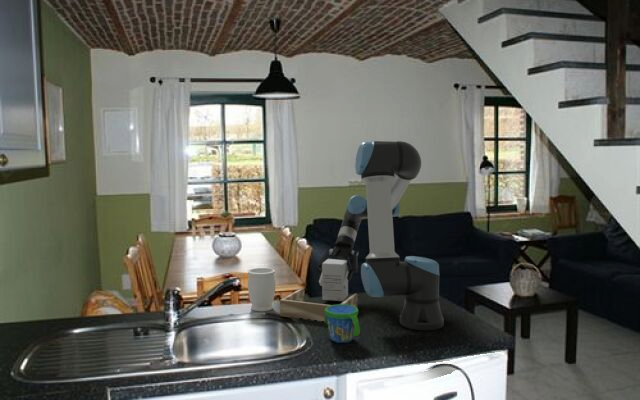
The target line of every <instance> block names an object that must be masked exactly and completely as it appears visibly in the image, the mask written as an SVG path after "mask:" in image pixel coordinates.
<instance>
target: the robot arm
mask: <svg viewBox="0 0 640 400" xmlns="http://www.w3.org/2000/svg"><path fill="white" fill-rule="evenodd" d="M354 166H355V167H354V168H355V173H356V175H359V176H360V178H361V179H360V180H361V182H362V183H364V184H365V190H366V191H365V192H366V193H365V194H366V198H365V197H364V196H361V195H360V194H356V195H355V194H354V195H353V196H351V197H350V198H349V200H348V203H347V205H346V209H345V212H344V215H343V220H342V223H341V226H340V229H339V231H338V234H337V238H336V241H335V245H334V247H333V248H330V247H327V248H326V250H325V253H324V255H323V256H322V257H321V259H320V261H319V262H318V264H317V268H318V270H319V274H318V276H319V280H318V283H319V285H320V286H321V287H322V263H323V262H325V261H326V260H327V259H337V260H347V265H348V271H347V272H346V275H345V279H344V283H343V286H344V288H347V284H348V285H349V281H352V277H353V274H357V273H358V272H359V264H358V258H359V255H360V253H359V251H358V249H354V245H355V241H356V238H357V235H358V230H359V227H360V224H361V222H362V220H363V218H367V227H368V243H369V245H368V246H369V253H368V254H367V256H366V257H365V262H364V263H362V264H361V266H360V276H361V281H362V285H363V289H364V291H365V293H366V294H367V295H368V296H369V297H372V298H386V297H387V298H388V297H402V296H404V302H403V306H402V309H401V312H400V315H399V324H400V325H401V326H402V327H404V328H407V329H410V330H416V331H435V330H439V329H441V328H443V327H444V326H445V325H444V323H445V322H444V320H445V319H444V316H443V314H442V309H441V305H440V302H439V301H440V275H441V274H440V264H439V263H438V262H437V261H436V260H434V259H431V258H427V257H424V256H414V255H409V256H405V258H404V261H401V260H400V259H401V258H400V255H399V254H398V253H396V251H395V237H394V235H395V234H394V222H393V219H394V218H393V217H397V216H398V215H399V214H400V209H401V207H400V203H399V202H400V201H401V199H402V197H403V195H404V194H405V192H406V191H407V188H408V187H409V185H410V183H411V181H412V180H414V179H416V178H417V177H418V175H419V173H420V171H421V168H422V158H421V155H420V153H419V151H418V150H417V148H415V146H413V145H412V144H411V143H409V142H406V141H401V140H400V141H399V140H398V141H392V140H391V141H389V140H386V141H385V140H384V141H382V140H381V141H380V140H379V141H378V140H372V141H363V142H361V143H360V145H359V146H358V149H357V152H356V157H355V165H354ZM353 249H354V250H353ZM351 255H352V257H353V258H352V261H353V264H352V263H351V261H350V260H351V259H350V258H349V257H350V256H351ZM352 265H353V267H352Z"/></svg>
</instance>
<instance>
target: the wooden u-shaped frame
mask: <svg viewBox="0 0 640 400" xmlns="http://www.w3.org/2000/svg"><path fill="white" fill-rule="evenodd" d="M340 304H345V305H351V306H355V307H356V308H358V293H353V294H352V295H350V296H349V297H348V298H345V300H344V301H341V303H340ZM328 306H331V304H324V303H316V302H309V301H308V302H307V301H305V288H303V287H301V288H299V289H297V290H295V291H293V292H291V293H290V294H288V295H286V296H285V297H283V298H281V299H280V300H279V316H280V317H283V318H284V317H286V318H291V317H293V318H292V319H299V318H303V319H302V320H307V319H311V320H310V321H314V320H317V321H316V322H322V321H324V318H325V309H326V307H328ZM323 323H325V321H324V322H323Z"/></svg>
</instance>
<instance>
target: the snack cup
mask: <svg viewBox="0 0 640 400" xmlns="http://www.w3.org/2000/svg"><path fill="white" fill-rule="evenodd" d="M330 305H331V304H330ZM358 315H359V309H358V307H357V308H356V307H355V306H351V305H345V304H341V303H339V304H332V305H331V306H328V307H326V309H325V318H324V321H325V322H324V323H325V324H326V325H327V327H328V335H329V340H330V341H332V342H335V343H337V344H348V343H350V342H352V341H353V340H354V337H357V336H359V335H360V333H361V328H360V323H359V322H360V321H359V319H358Z"/></svg>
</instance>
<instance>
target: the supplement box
mask: <svg viewBox="0 0 640 400" xmlns="http://www.w3.org/2000/svg"><path fill="white" fill-rule="evenodd" d="M347 271H349V268H348V265H347V260H346V259H345V260H344V259H329V258H328V259H327V260H326V261H325V262H323V263H322V286H321V287H322V288H321V289H322V290H321V291H322V292H321V298H322V300H323V301H325V300H326V301H337V302H344V301H345V300H346V299H347V297H348V296H349V283H348V284H347V288H344V286H343V283H344V279H345V275H346V272H347Z"/></svg>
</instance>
